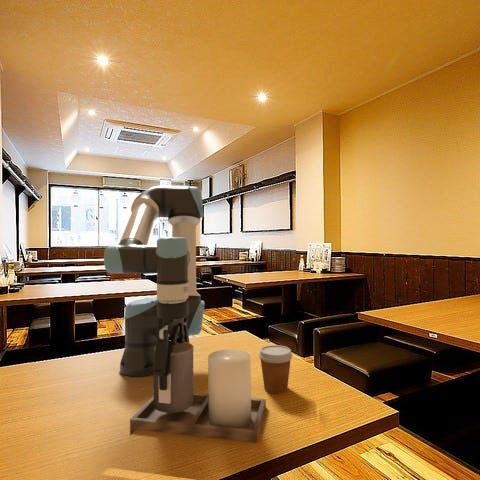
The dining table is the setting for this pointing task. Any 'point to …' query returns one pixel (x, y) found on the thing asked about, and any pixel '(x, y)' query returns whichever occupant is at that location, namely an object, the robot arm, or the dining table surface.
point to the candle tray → (197, 421)
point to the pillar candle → (177, 380)
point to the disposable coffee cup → (275, 368)
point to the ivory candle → (229, 388)
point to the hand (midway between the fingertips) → (173, 392)
